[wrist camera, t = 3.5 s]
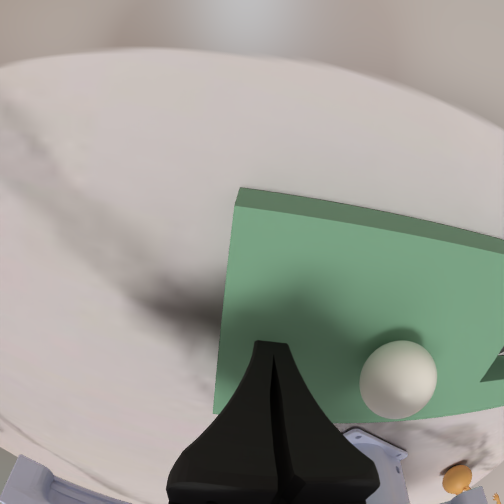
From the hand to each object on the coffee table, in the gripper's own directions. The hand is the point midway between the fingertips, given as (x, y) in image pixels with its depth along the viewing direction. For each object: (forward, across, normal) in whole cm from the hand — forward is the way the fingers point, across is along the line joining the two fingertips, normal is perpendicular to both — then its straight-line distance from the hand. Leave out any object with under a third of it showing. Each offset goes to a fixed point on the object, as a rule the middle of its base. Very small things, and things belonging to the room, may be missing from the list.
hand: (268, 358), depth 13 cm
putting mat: (+3, -10, 0) cm, 10 cm away
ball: (-1, -6, 0) cm, 6 cm away
